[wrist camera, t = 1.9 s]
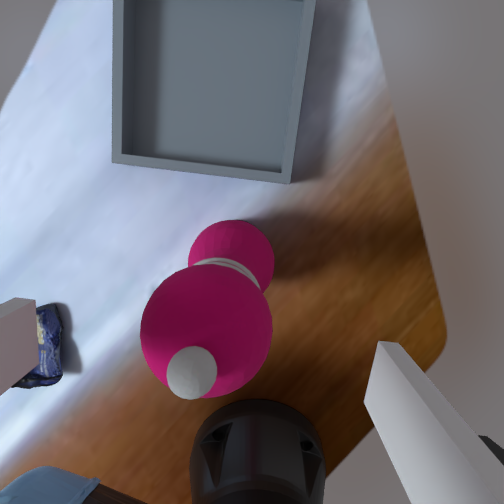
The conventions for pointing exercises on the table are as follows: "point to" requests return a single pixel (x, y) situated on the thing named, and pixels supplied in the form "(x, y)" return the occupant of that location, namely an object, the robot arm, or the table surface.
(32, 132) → the table surface
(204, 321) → the pepper mill
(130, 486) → the table surface
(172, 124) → the tray
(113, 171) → the table surface
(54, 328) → the snack package
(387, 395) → the robot arm
